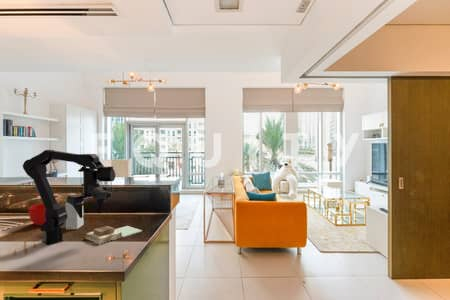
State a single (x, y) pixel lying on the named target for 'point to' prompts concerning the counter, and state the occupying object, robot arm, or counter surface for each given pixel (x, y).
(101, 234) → the walnut tile
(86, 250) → the counter surface
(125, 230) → the sage mat
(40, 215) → the ceramic cup
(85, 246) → the counter surface
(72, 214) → the skincare box
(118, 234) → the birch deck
